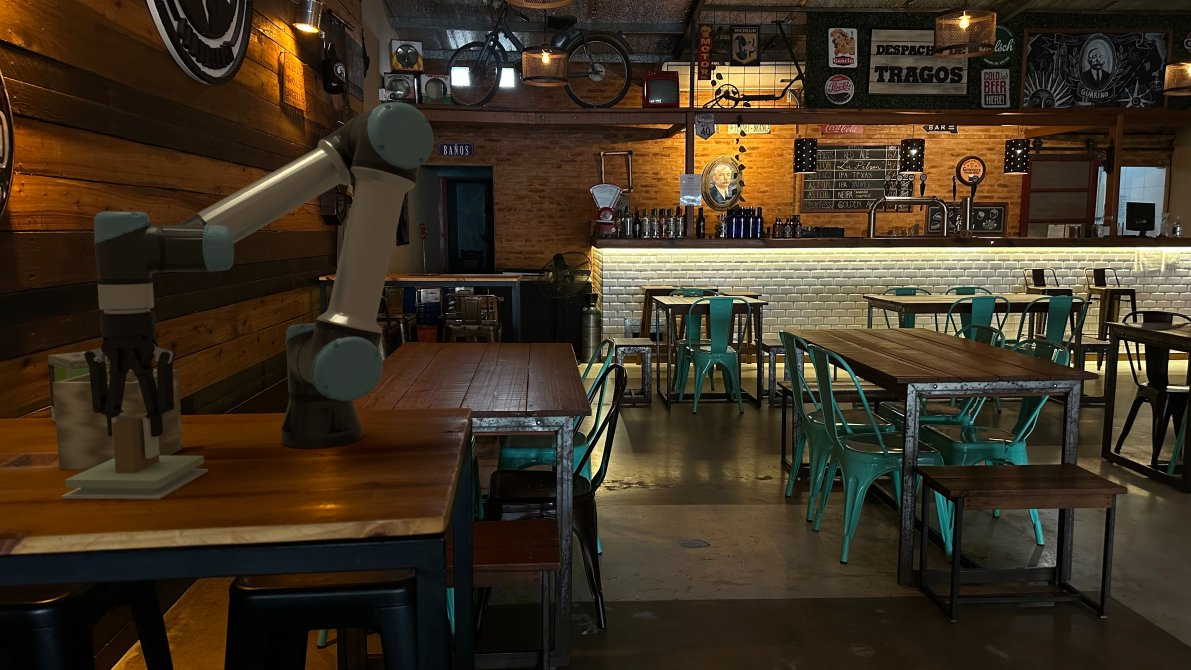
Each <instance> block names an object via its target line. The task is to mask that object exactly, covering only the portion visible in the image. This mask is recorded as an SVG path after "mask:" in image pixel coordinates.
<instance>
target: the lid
mask: <svg viewBox="0 0 1191 670" xmlns="http://www.w3.org/2000/svg"><path fill="white" fill-rule="evenodd" d="M145 415H148V414H136V415H133V416H130V417H128V418H125V419H122V420H119V421H117V422H114V423H112V426H113V441H114V455H115V458H113V459H111V460H109V461H107V462H104V463H102V464H100V465H98V466H95V467H93V468H91V469H85V470H84V471H82V472H79V473H78V474H74V475H73V476H71V477H68V478H66V479H65V480H64V482H65V488H81V492H104V493H155V492H157V491H159V490H161V489H162V488H164V487H166V486H168V485H170V484H171V483H173V482H175V481H177V480H179V479H180V478H182V477H184V476H186V475H188V474H189V473H191V472H192V469H197V468H198V467H200V466H202V464H204V463H205V457H204V455H169V456H166V455H159V454H158V455H156V456H154V457H152V458H145V443H144V428H143V418H145Z"/></svg>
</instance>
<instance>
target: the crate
mask: <svg viewBox="0 0 1191 670" xmlns="http://www.w3.org/2000/svg"><path fill="white" fill-rule="evenodd" d="M106 370H107V381H108V387H109V380H110V375H109V369H106ZM153 376H154V379H155V383H156V386H157V390H158V385H157V369H154V371H153ZM179 380H180V378H179V370H178V369H173V389H174V409H173V410H171V411H169V412H166V413H164V414H163V415H162V423H163V425H162V426H163V433H162V435H160V436H158V437H159V453H160V454H159V455H166V456H172V455H173V454H175V453H178V452H179V451H181V450H184V447H183V446H184V445H183V428H182V411H181V397H180V396H181V395H180V393H181V391H180V381H179ZM53 394H54V406H55V419H56V422H55V428H56V429H55V431H56V441H57V442H56V443H57V454H58V455H57V457H58V458H57V459H58V468H59V470H88V469H91V468H93V467H95V466H98V465H100V464H102V463H104V462H107V461H109V460H111V459H113V458H114V447H113V436H109V435H108V429H107V418H106V416H105V415H104V414H101V413H95V412H94V411H93V404H92V393H91V383H90V373H88V374H84V375H80V376H77V377H73V378H69V379H65V380H61V381H57V382H53ZM121 410H124V411H123V412H122V413H120V414H119V415H121V414H126V418H128V417H130V416H133V415H136V414H147V410H146V407H145V403H144V400H143V396H142V393H141V390H140V386H139V383H138V379H137V377H136V376H135V375H134V372H133V370H129V372H128V374H127V376H126V383H125V389H124V395H123V402H122V408H121Z"/></svg>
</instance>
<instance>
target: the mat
mask: <svg viewBox="0 0 1191 670" xmlns="http://www.w3.org/2000/svg"><path fill="white" fill-rule="evenodd" d="M207 472H209V469H208V468H194V469H192V472H191V473H189V474H188V475H186V476H184V477H182V478H180V479H179V480H177V481H175V482H173V483H171V484H170V485H168V486H166V487H164V488H162V489H161V490H159V491H157V492H155V493H104V492H81V488H78V487H76V488H75V489H74V490H72V491H71V490H70V491H69V492H67V493H64V494H63V495H61V499H84V500H85V499H90V500H91V499H96V500H98V499H99V500H100V499H101V500H102V499H103V500H104V499H105V500H106V499H107V500H161V499H162V498H164V497H166V496H167V495H169V494H171V493H172V492H175V491H176V490H178V489H180V488H181V487H183V486H185V485H187V484H188V483H190V482H192V481H193V480H195V479H197V478H199V477H200V476H203V475H204V474H206V473H207Z"/></svg>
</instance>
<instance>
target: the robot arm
mask: <svg viewBox="0 0 1191 670" xmlns="http://www.w3.org/2000/svg"><path fill="white" fill-rule="evenodd" d="M434 139H435V138H434V132H433V129H432V126H431V124H430V123H429V121H428V119H427V117H426V116H425V114H423V112H422V111H420V110H419V109H418V108H417V107H415V106H414V105H411V104H409V103H406V102H405V103H404V102H401V101H395V102H384V103H381V104H379V105H377V106H376V107H375V108H372V109H369V110H365V111H363V112H360V113H358V114H357V115H355V116H354V117H353V118H352V119H350V120H349V121H347V122H346V123H345V124H344V125H342V126H341V127H339V128H338V129H337V130H335V131H333V132H331V133H330V134H329V135H327V136H325V137H323V138H321V139H320V140H319V141H318V144H317V148H315V149H313V150H311V151H309V152H308V153H306V154H304V155H302V156H300V157H298V158H297V159H295V160H293V161H291V162H289V163H287V164H285V165H283V166H282V167H280V168H278V169H276V170H273V171H272V172H271V173H269V174H267V175H265V176H263V177H261V178H260V179H257V180H256V181H253V182H252V183H250V184H248V185H247V186H245V187H243V188H241V189H240V190H238V191H236V192H233V193H232V194H230V195H228V196H226V197H224V198H223V199H221V200H219V201H218V202H215V203H213V204H212V205H210V206H208V207H206V208H204V209H203V210H200V211H199V212H197V213H196V214H194V215H191V216H190V217H188V218H186V219H184V220H183V221H181V222H178V223H177V224H175V225H174V224H168V225H167V224H166V225H165V224H164V225H162V224H153V223H151V220H150V218H149V215H148V214H147V213H146V212H143V211H101V212H99V213H97V214H96V215H95V216H94V220H93V223H94V224H93V225H94V229H93V230H94V231H93V232H94V240H93V243H94V254H95V255H94V256H95V263H96V264H95V265H96V277H97V294H98V309H99V310H101V311H103V312H102V313H101V314H100V315H99V321H100V333H101V336H102V338H103V341H102V343H101V344H100V347H99V348H97V349H93V350H89V351H84V352H85V354H84V357H85V359H86V361H87V363H88V365H89V372H90V383H91V393H92V404H93V411H94V412H95V413H101V414H104V415H105V416H106V418H107V429H108V435H109V436H113V426H112V423H114V422H117V421H119V420H122V419H125V418H126V414H121V415H119V414H120V413H122V412H123V411H124V410H121V408H122V402H123V395H124V389H125V383H126V376H127V374H128V372H129V370H133V372H134V375H135V376H136V377H137V379H138V383H139V386H140V390H141V393H142V396H143V400H144V403H145V407H146V410H147V414H148V415H145V418H143V428H144V443H145V458H152V457H154V456H156V455H158V454H160V453H159V437H158V436H160V435H162V433H163V426H162V425H163V423H162V415H163V414H164V413H166V412H169V411H171V410H173V409H174V389H173V370H174V367H173V364H174V363H175V362H174V361H175V359H176V358H175V357H176V355H177V352H176V351H175V350H174V349H170V350H168V349H165V348H162V347H159V343H158V342H157V340H156V333H157V328H156V314H155V312H154V311H153V310H151V309H153V308H154V307H155V302H154V301H155V296H154V286H153V285H154V283H153V273H164V272H166V273H167V272H171V273H173V272H178V273H179V272H183V273H186V272H188V273H189V272H190V273H191V272H194V273H195V272H209V273H213V272H219V271H228V270H230V269H232V267H233V264H234V260H235V247H234V244H235V243H237V242H240V240H243V239H244V238H246V237H248V236H250V235H252V234H254V233H255V232H257V231H258V230H260V229H262V228H263V227H265V226H267V225H269V224H271V223H272V222H275V221H276V220H278V219H280V218H281V217H283V216H285V215H286V214H288V213H290V212H292V211H294V210H296V209H297V208H299V207H300V206H303V205H305V204H306V203H308V202H309V201H312V200H313V199H315V198H317V197H319V196H321V195H322V194H324V193H326V192H328V191H329V190H331V189H333V188H335V187H336V186H338V185H344V186H349V185H351V184H352V183H355V182H356V186H355V189H354V194H353V197H352V198H353V199H352V203H351V206H350V211H349V216H348V219H347V220H348V221H347V224H346V229H345V234H344V238H343V242H342V247H341V249H340V250H341V252H340V256H339V259H338V264H337V268H336V273H335V276H334V277H335V278H334V281H333V282H334V283H333V286H332V289H331V290H332V291H331V293H330V294H331V295H330V300H329V303H328V309H327V310H326V311H325V312H324V313H322V314H320V315H319V316H317V317H316V320H315V321H316V322H310V323H297V324H291V325H289V326H288V327H287V329H286V332H285V333H286V334H285V335H286V339H284V340H285V341H284V342H285V345H286V347H285V348H286V362H287V363H286V367H287V368H286V369H287V385H288V386H287V387H288V405H287V409H286V412H285V415H284V418H283V422H282V425H281V429H280V442H281V444H282V445H283V446H286V447H290V448H297V449H321V448H332V447H339V446H344V445H348V444H351V443H355V442H357V441H359V440H360V439H361V438H362V437H363V426H362V423H361V420H360V417H359V415H358V411H357V409H356V407H355V404H354V401H356V400H358V399H361V398H363V397H365V396H367V395H368V394H370V393H371V392H372V391H373V390H374V389H375V388H376V386H377V385H378V384H379V382H380V380H381V377H382V374H383V370H384V362H383V358H382V356H381V353H380V351H379V349H380V345H381V344H380V343H381V339H382V336H383V334H382V333H383V330H382V329H381V327H380V325H379V324H378V322H377V318H378V314H379V310H380V309H379V308H380V304H381V300H382V295H383V291H384V287H385V282H386V277H387V274H388V270H389V269H388V268H389V266H390V260H391V255H392V251H393V247H394V242H395V238H396V234H397V231H398V230H397V229H398V225H399V219H400V216H401V211H402V207H403V202H404V198H405V194H407V192H409V191H410V190H412V189H414V188H415V187H416V184H417V180H418V176H419V170H420V167H421V166H422V165H424V164H425V162H426V161H427V160H428V158H429V157H430V155H432V154H431V153H432V151H433V148H434V143H435V142H434ZM106 357H107V358H108V360H109V361H110V368H109V375H110V380H109V387H108V381H107V370H106V363H105V359H106ZM154 357H155V362H157V364H156V370H157V385H158V390H157V386H156V383H155V379H154V376H153V371H154V370H155V369H154V366H153V362H152V360H153V359H154ZM113 447H114V441H113ZM114 458H115V455H114Z"/></svg>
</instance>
